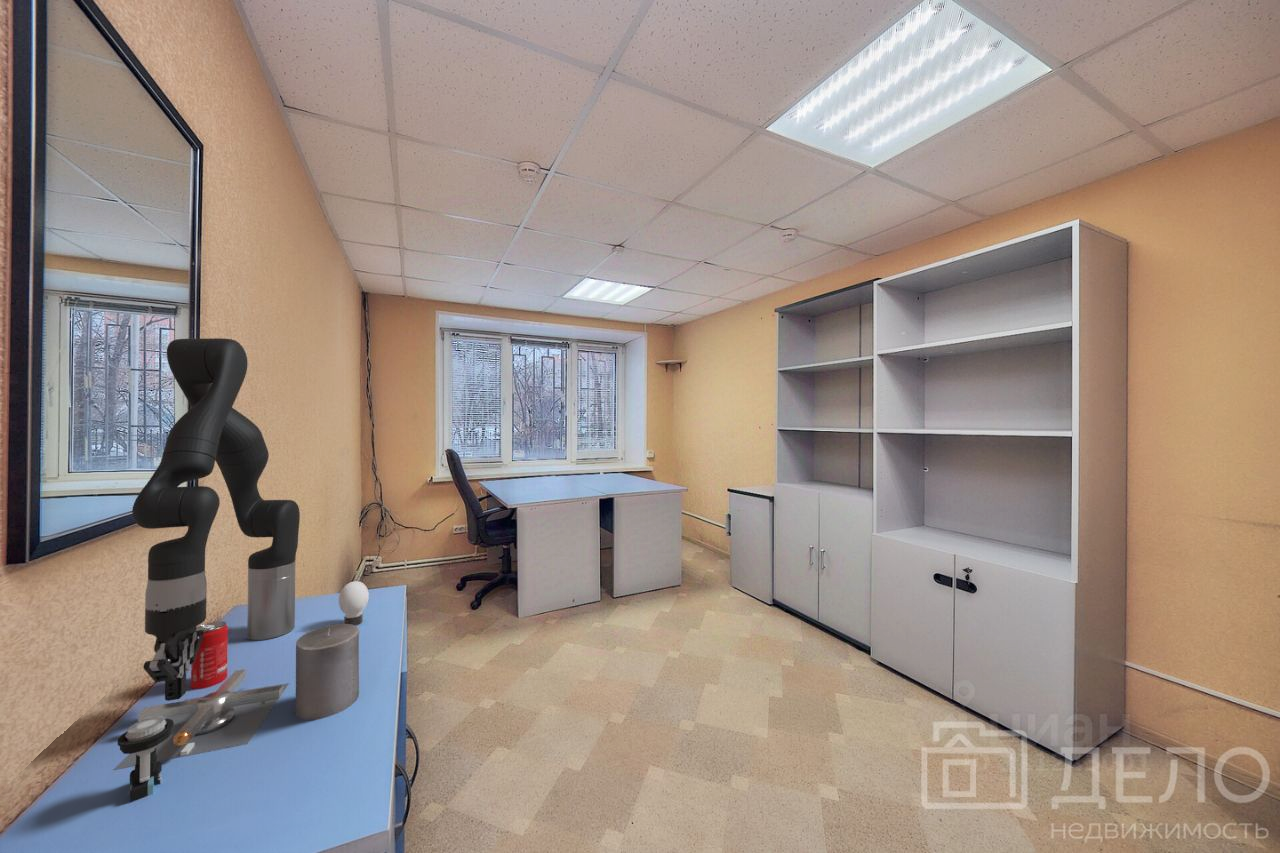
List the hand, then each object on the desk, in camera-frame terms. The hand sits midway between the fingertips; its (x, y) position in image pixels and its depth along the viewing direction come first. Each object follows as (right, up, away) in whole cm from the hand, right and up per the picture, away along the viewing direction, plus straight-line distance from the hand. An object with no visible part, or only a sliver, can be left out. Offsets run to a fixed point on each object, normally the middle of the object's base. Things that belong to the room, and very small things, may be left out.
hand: (175, 697), depth 79 cm
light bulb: (+6, -4, +39) cm, 40 cm away
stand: (+8, -4, -1) cm, 9 cm away
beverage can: (-4, -4, +10) cm, 12 cm away
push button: (+11, -5, -15) cm, 19 cm away
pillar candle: (+24, -5, +4) cm, 25 cm away
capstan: (+8, -3, -1) cm, 9 cm away
